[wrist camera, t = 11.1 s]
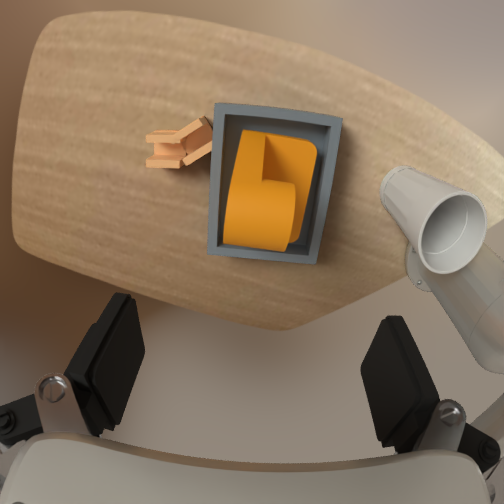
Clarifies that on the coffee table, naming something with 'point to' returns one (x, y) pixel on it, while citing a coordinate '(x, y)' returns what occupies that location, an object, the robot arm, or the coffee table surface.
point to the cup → (435, 217)
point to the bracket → (268, 190)
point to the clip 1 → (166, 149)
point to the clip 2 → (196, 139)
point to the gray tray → (223, 160)
